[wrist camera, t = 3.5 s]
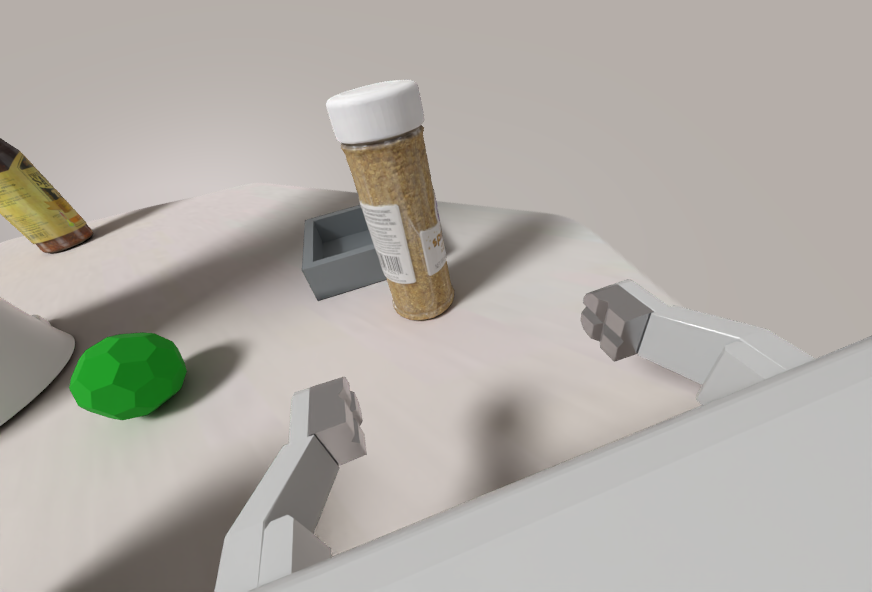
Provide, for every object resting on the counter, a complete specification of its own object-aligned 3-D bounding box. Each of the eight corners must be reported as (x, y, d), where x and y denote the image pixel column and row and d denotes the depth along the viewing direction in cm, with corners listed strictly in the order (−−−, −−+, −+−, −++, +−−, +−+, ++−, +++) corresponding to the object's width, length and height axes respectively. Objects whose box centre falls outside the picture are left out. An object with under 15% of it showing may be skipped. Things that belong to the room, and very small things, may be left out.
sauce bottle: (102, 236, 48) (-44, 75, 36) (49, 259, 44) (-134, 88, 32) (90, 230, 51) (-47, 81, 39) (39, 250, 48) (-129, 94, 35)
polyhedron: (207, 356, 23) (161, 305, 20) (195, 411, 20) (137, 359, 17) (129, 385, 22) (70, 336, 19) (101, 449, 19) (21, 401, 16)
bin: (317, 300, 26) (302, 270, 24) (317, 246, 34) (305, 220, 32) (431, 265, 27) (424, 233, 26) (406, 220, 35) (399, 193, 33)
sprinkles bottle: (466, 304, 23) (433, 76, 15) (408, 333, 22) (335, 101, 13) (436, 274, 26) (395, 76, 18) (384, 298, 25) (314, 96, 17)
